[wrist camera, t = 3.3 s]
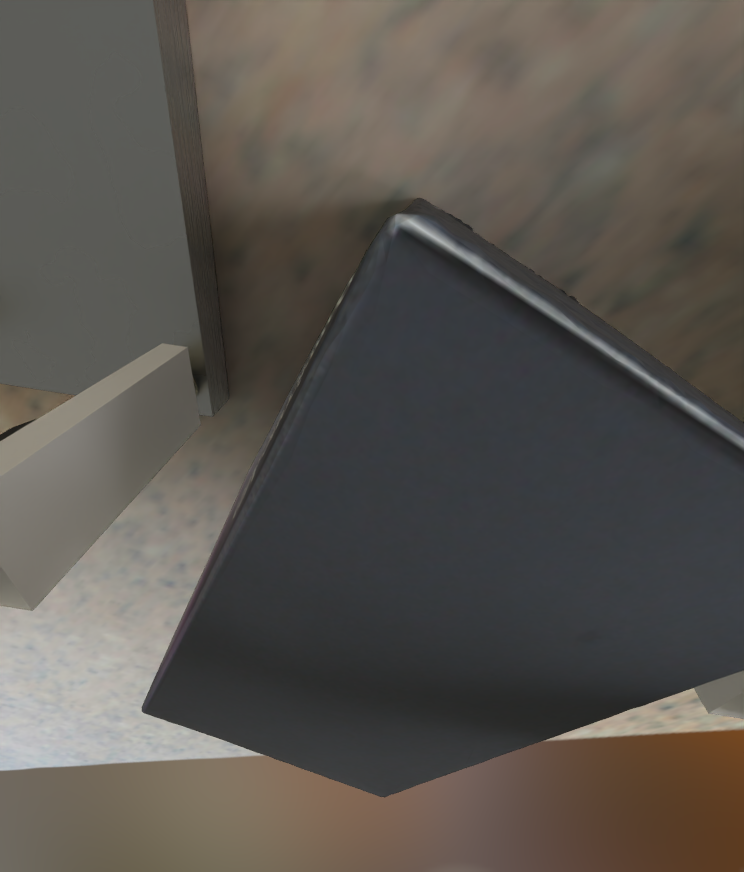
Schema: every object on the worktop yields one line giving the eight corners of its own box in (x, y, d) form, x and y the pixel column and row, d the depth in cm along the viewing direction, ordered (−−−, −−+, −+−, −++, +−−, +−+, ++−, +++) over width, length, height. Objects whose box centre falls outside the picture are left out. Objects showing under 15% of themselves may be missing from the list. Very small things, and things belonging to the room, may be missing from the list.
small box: (406, 181, 11) (369, 117, 2) (578, 299, 12) (1040, 596, 3) (278, 438, 16) (116, 727, 7) (404, 499, 17) (394, 808, 9)
